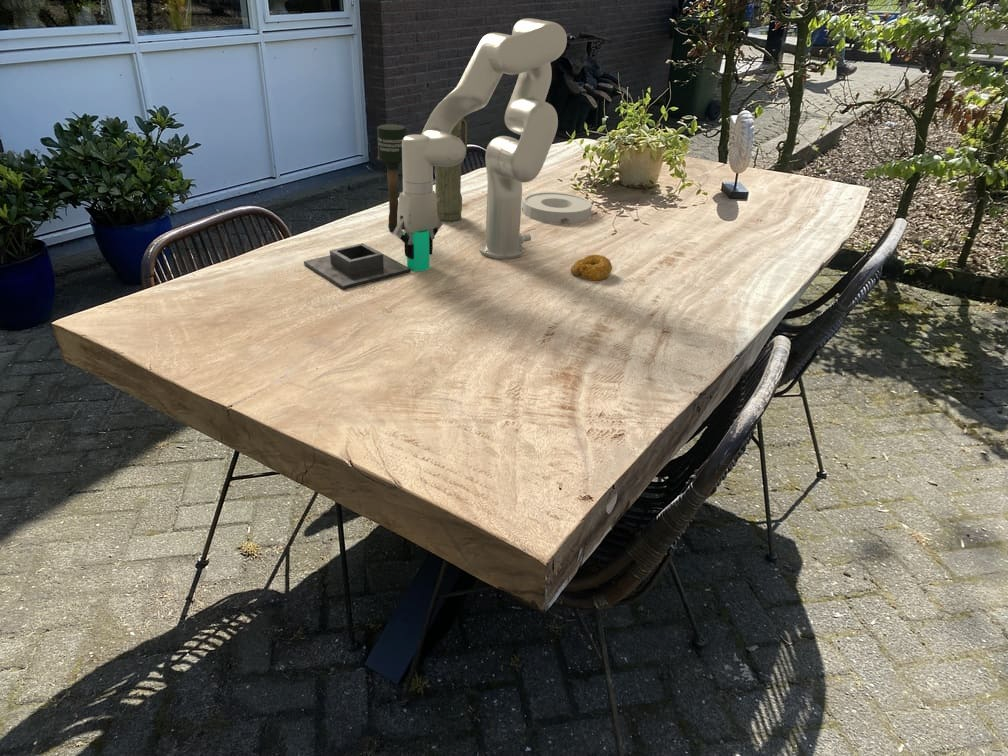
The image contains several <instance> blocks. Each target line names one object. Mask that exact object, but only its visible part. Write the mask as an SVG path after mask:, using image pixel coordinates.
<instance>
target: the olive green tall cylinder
mask: <svg viewBox="0 0 1008 756" xmlns="http://www.w3.org/2000/svg"><path fill="white" fill-rule="evenodd" d="M440 102H441V101H440ZM440 102H438V104H439V103H440ZM438 104H437V105H438ZM451 135H454V136H456V137H458V138H459V139H460V140H461V141H462V142H463V143H464V145H465V148H466V152H467V151H468V122H467V120H466V119H465V118H464V117H463V118H462V119H461V120H460V121H459V122H458V123H457V124H456V125H455V127H454V128H453V130H452V132H451ZM463 161H464V160H463ZM463 161H462V162H461V163H460V164H458V165H456V166H452V167H445V166H434V169H435V175H434V176H435V177H434V180H435V181H436V184H435V185H434V186H435V187H434V189H435V190H434V192H435V196H436V202H437V212H438V218H439V219H440V220H441V222H442V223H456V222H458V221H460V220H462V210H463V196H462V193H461V185H462V184H461V183H462V180H461V179H462V176H461V175H462V164H463Z"/></svg>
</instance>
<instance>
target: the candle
mask: <svg viewBox="0 0 1008 756" xmlns="http://www.w3.org/2000/svg"><path fill="white" fill-rule="evenodd" d="M408 236H409V234H407V238H408ZM412 244H413V245H414V259H410V258H408V257H406V261H407V262H406V263H407V264H406V265H407V267H408V268H410V269H411V271H415V272H423V271H427V270H429V269H430V254H429V230H427V231H422V232H415V233H413V241H412Z"/></svg>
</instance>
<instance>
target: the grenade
mask: <svg viewBox="0 0 1008 756" xmlns="http://www.w3.org/2000/svg"><path fill="white" fill-rule="evenodd" d="M376 130H377V131H376V133H377V153H378V154H377V157H376V159H377V161H379V162H380V163H381V162H382V163H385V164H386V170H387V173H386V174H387V185H388V202H389V203H388V204H389V205H388V208H389V209H388V210H389V213H388V226H387V227H388V230H389V231H390V232H392V233H393V232H394V230H395V228H396V227H397V212H398V201H399V164H400V163H402V140H403V138H404V137H405V136H407V133H406V132H407V131H406V127H405V126H403V125H402V124H400V125H399V124H395V123H394V124H393V123H391V124H387V123H386V124H380V125H378V126H377V129H376Z"/></svg>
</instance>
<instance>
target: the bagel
mask: <svg viewBox="0 0 1008 756" xmlns="http://www.w3.org/2000/svg"><path fill="white" fill-rule="evenodd" d="M612 271H613V266H612V262H611V260H610V258H607V257H606V256H604V255H600V254H589V255H587V256H585V257H584V258H581V259H578V260H576V261H575V263H574V264H573V265H572V266H571V267H570V273H572V274H573V276H576V277H579V278H580V277H581V278H583V279H584V280H589V281H594V282H595V281H597V282H598V281H603V280H605V279H606V278H607V277H609V276H610V274H611V273H612Z"/></svg>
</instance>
